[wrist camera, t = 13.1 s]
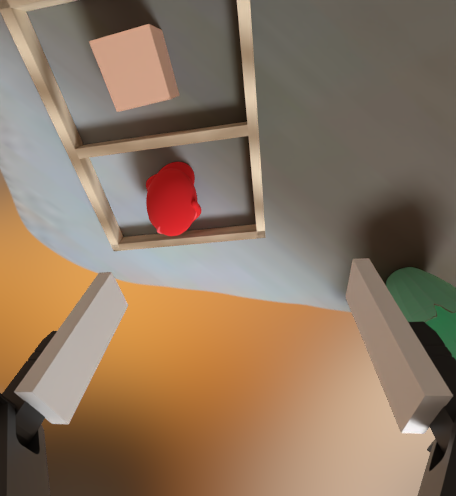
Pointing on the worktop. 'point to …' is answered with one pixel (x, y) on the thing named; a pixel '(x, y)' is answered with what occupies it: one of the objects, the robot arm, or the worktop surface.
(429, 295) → the mug
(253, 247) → the worktop surface
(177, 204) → the red rounded oval lump
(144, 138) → the rack
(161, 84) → the block
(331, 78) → the worktop surface
